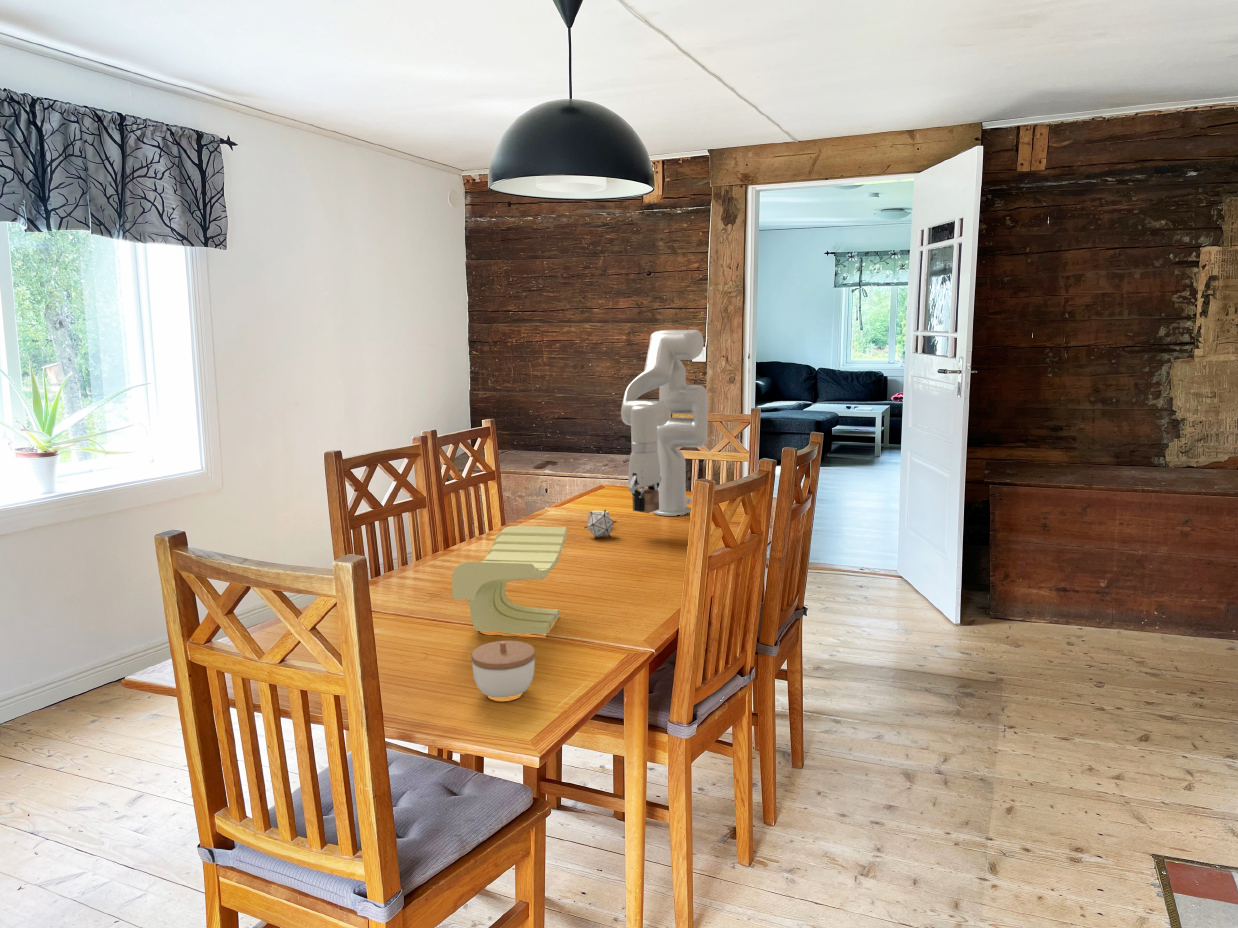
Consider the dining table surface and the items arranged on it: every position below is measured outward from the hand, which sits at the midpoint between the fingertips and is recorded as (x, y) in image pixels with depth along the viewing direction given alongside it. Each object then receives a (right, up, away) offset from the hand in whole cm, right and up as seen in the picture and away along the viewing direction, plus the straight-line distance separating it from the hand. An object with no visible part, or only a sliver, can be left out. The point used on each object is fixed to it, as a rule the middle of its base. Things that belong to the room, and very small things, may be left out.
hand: (645, 507), depth 252 cm
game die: (-13, -9, +3) cm, 16 cm away
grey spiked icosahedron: (-14, -7, +15) cm, 22 cm away
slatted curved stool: (-30, -21, -71) cm, 79 cm away
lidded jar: (-27, -27, -105) cm, 112 cm away
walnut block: (0, -1, 0) cm, 1 cm away
